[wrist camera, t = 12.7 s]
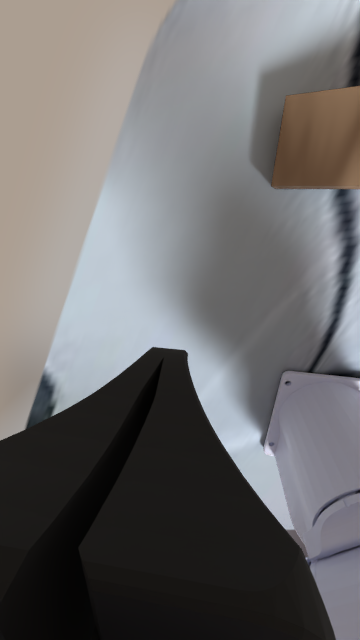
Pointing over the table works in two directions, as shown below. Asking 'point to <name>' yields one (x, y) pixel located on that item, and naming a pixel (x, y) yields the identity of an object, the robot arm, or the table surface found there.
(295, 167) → the domino
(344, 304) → the table surface
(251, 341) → the table surface
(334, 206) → the table surface
